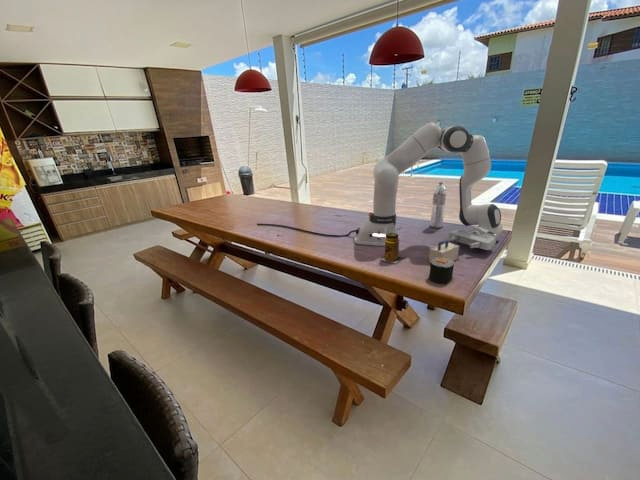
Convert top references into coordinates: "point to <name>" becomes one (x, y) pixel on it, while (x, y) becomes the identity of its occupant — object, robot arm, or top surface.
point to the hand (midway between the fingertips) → (460, 243)
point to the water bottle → (438, 206)
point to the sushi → (441, 270)
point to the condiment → (392, 248)
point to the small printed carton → (445, 251)
